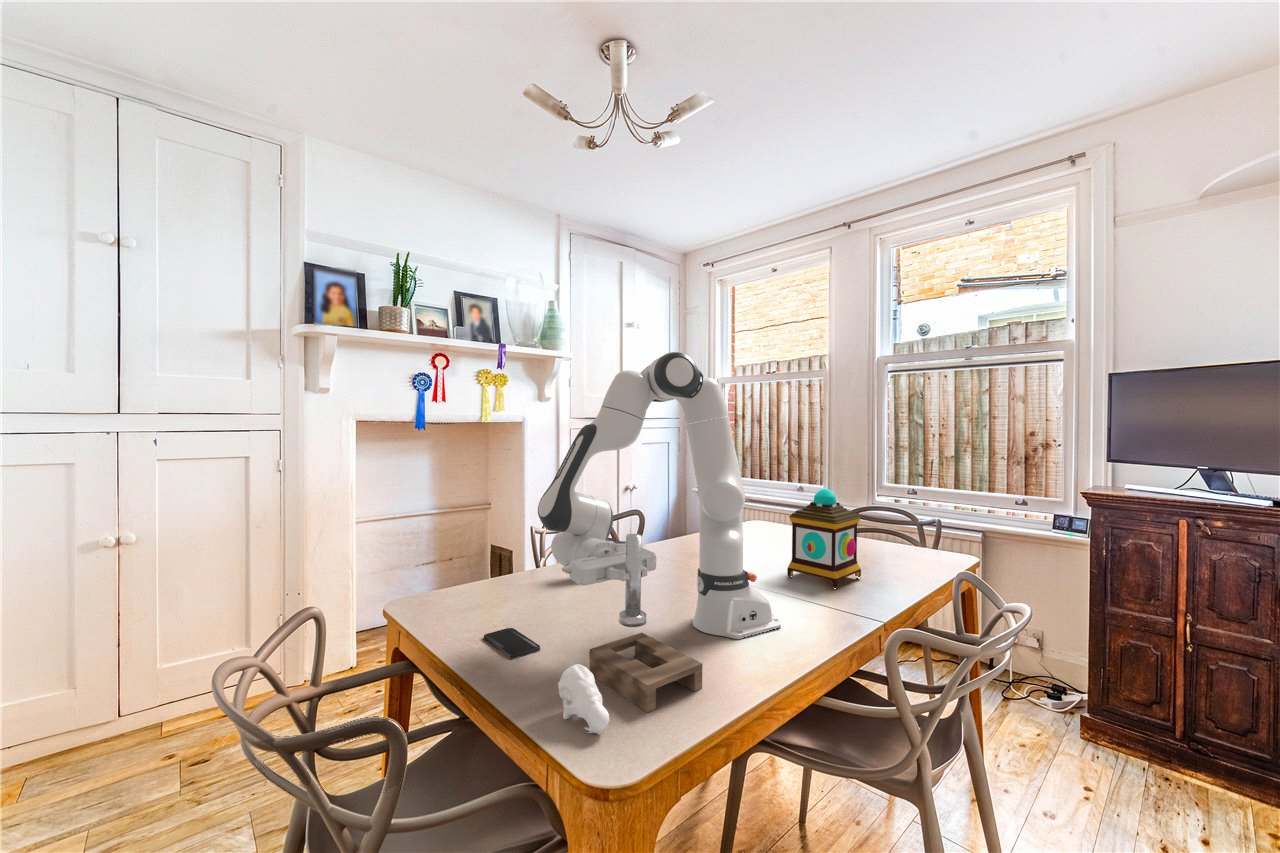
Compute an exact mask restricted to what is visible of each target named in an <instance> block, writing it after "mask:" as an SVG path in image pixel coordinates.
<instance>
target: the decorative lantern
mask: <svg viewBox="0 0 1280 853" xmlns="http://www.w3.org/2000/svg"><path fill="white" fill-rule="evenodd" d="M788 518H789V520H790V522H791V526H792V531H791V534H792V535H791V560H790V562H789V563H788V567H787V571H786V572H787V573H786V574H787V577H788V576H789V577H791V576H792V577H793V575H794V572H797V573H801V574H803V575H808V576H813V577H817V578H821V579H824V580H829V581H830V582H831V585H832V588H833V587H834V588H837V589H838V584H839V581H840V580H843V579H844V578H847V577H849V576H851V575H855V576H858V577H860V576H862V570H861V567H860V565H859V563H858V560H857V557H858V556H857V554H858V553H857V550H858V549H857V548H858V546H857V544H858V524H859V523H860V521H861V516H860V515H859V514H858V513H855V511H853V510H849V509H847V508H846V507H844V506H843V505H841V503H840V502H837V497H836V494H834V492H832V491H831V490H830V489H829V488H826V487H824V488H821V489H819V490H818V491H816V493H815V494H814V497H813V501H810V503H809V504H807V505H806V506H805V507H803V508H801V509H797V510H795V511H794V512H792V513H791V514H790V515H789V516H788ZM855 576H854V577H855ZM789 577H788V578H789ZM860 578H861V577H860Z"/></svg>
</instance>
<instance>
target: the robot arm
mask: <svg viewBox="0 0 1280 853" xmlns="http://www.w3.org/2000/svg"><path fill="white" fill-rule="evenodd" d="M674 400H676V401H677V403H679V404H680V406H681V407H682V408H681V409H682V410H683V412H684V420H685V427H686V430H687V435H688V441H689V446H690V451H691V458H692V464H693V469H694V475H695V481H696V487H697V493H698V498H699V549H698V550H699V558H698V559H699V560H698V564H699V565H698V569H697V577H696V578H697V579H696V581H697V582H696V584H697V585H696V586H697V601H696V608H695V612H694V616H693V619H692V623H691V624H692V626H693V627H694V628H695V629H696V630H698V631H699V632H702V633H706V634H708V635H709V634H710V635H714V636H722V637H727V638H729V639H732V640H733V639H734V640H741V639H745V638H748V636H749V637H752V636H756V635H759V633H760V634H763V633H762V632H764V633H766V632H765V631H768V630H772V629H775V628H779V627H781V628H782V623H781V621H780V619H779V618H778V617H777V616H775V615H774V614H773V613H772V608H771V604H770V602H769V600H768V598H767V597H766V596H765V595H763V594H762V593H761V592H759V591H758V590H757V589H756V588H755V587H753V586H752V585H751V584H750V582H751V583H755V582H756V581H757V579H758V577H757V575H756V573H753V572H749V571H747V570H745V569H743V567H744V534H743V533H744V532H743V531H744V530H743V509H744V507H745V503H746V494H745V488H744V484H743V480H742V478H743V477H742V474H741V470H740V465H739V461H738V456H737V452H736V446H735V441H734V437H733V431H732V426H731V421H730V420H731V419H730V417H729V416H730V415H729V412H728V407H727V403H726V400H725V397H724V394H723V391H722V388H721V385H720V384H719V382H718V381H717V380H716V379H714V378H712V377H707V376H704V375H703V373H702V372H701V370H700V369H699V367H698V366H697V364H696V363H695V361H694V360H693V359H692V358H691V357H690V356H689V355H687V354H685V353H683V352H678V351H675V352H674V351H672V352H668V353H665V354H663V355H662V356H659V357H657V358H656V359H654V360H653V361H652V362H651V363H650V364H649V365H647V367H645V368H644V369H643V370H641V372H639V371H635V370H629V369H627V370H622V371H619V372H618V373H617V374H616V375H615V376H614V378H613V380H612V381H611V383H610V385H609V387H608V389H607V391H606V394H605V395H604V397H603V400H602V404H601V407H600V409H599V412H598V414H597V415H596V417H595V418H594V420H593V421H591V423H589V424H585V425H584V426H583V427H581V429H580V430H579V431H578V433H577V434H576V435H575V438H574V439H573V441H572V443H571V445H570V447H569V449H568V451H567V453H566V455H565V456H564V458H563V460H562V463H561V464H560V466H559V468H558V471H557V472H556V474H555V476H554V478H553V480H552V482H551V483H550V485H549V486H548V488H547V489H546V491H545V492H544V493H543V495H542V496H541V498H540V500H539V502H538V505H537V514H538V518H539V520H540V523H541V524H542V525H543V527H544V528H545V529H546V530H547V531H552V532H557V534H555V536H554V537H553V538H552V541H551V546H550V550H551V553H552V556H553V558H554V560H556V562H558V563H559V564H560V565H562V568H561V572H563V573H565V574H568V575H569V579H570V580H571V581H573V582H574V583H576V584H577V585H580V586H589V585H594V584H598V583H599V582H600V583H603V581H604V582H607V581H612V580H613V581H615V580H616V581H621V582H626V581H627V580H630V577H629V576H630V572H629V571H626V540H625V541H623V540H621V541H620V540H618V541H613V540H608V538H609V537H610V535H611V532H612V528H613V525H614V512H613V509H612V506H611V504H610V503H609V502H608V501H607V500H605V499H603V498H598V497H597V496H596V497H595V496H593V495H587V494H585V493H581V492H577V491H575V488H576V486H577V484H578V483H579V480H580V479H581V476H582V474H583V472H584V470H585V468H586V466H587V465H588V463H589V461H590V459H592V458H593V457H594V456H595V455H596V454H599V453H601V452H610V451H618V450H623V449H627V447H629V446H631V445H632V444H634V443H635V442H636V440H637V439H638V438H639V436H640V434H641V431H642V427H643V425H644V421H645V419H646V418H645V417H646V416H647V415H646V414H647V410H648V408H649V406H650V405H651V404H652V402H653V403H654V402H656V403H664V402H668V401H669V402H670V401H674ZM656 569H657V555H656V553H655V552H653V551H651V550H649V549H646V548H643V547H641V578H644V577H647V576H648V572H651V571H655V570H656ZM600 583H599V584H600ZM779 629H780V628H779ZM775 630H776V629H775ZM772 631H773V630H772ZM768 632H769V631H768ZM755 634H756V635H755ZM751 635H752V636H751ZM744 637H745V638H744Z"/></svg>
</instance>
